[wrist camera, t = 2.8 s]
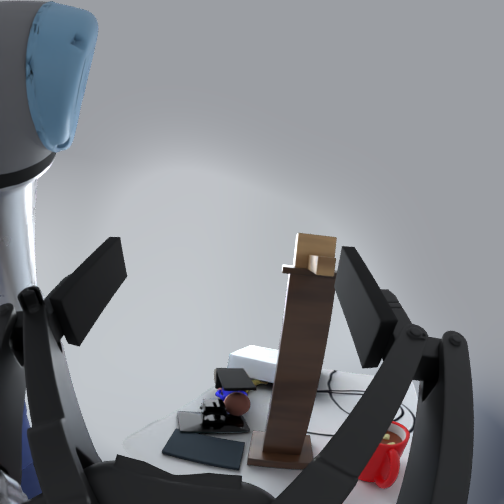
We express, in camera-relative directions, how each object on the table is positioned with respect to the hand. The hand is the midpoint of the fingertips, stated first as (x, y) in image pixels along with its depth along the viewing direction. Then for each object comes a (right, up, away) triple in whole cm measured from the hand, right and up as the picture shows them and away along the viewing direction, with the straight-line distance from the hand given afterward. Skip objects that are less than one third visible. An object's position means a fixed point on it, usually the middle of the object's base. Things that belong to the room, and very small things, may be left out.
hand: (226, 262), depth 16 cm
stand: (+6, -32, +21) cm, 39 cm away
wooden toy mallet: (+9, -2, +17) cm, 19 cm away
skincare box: (+10, -30, +60) cm, 68 cm away
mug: (+20, -34, +14) cm, 42 cm away
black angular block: (-6, -31, +28) cm, 42 cm away
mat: (-6, -31, +20) cm, 37 cm away
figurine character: (-3, -31, +37) cm, 48 cm away
